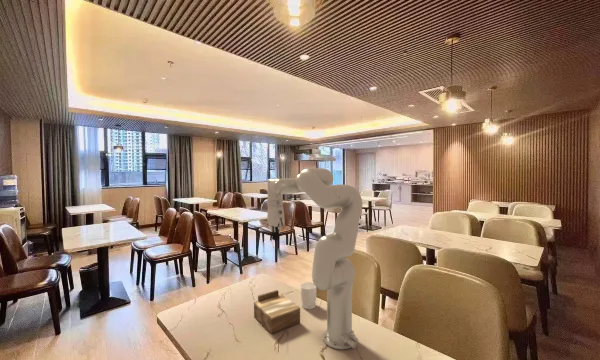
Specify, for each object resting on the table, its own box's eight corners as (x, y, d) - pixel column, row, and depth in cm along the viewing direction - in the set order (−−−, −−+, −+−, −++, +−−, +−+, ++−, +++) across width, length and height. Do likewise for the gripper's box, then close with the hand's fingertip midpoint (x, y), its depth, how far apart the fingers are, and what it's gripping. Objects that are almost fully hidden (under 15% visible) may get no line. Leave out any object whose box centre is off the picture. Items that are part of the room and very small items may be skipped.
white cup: (317, 310, 127) (316, 289, 126) (300, 310, 127) (300, 289, 127) (316, 301, 135) (316, 282, 134) (300, 301, 135) (300, 282, 134)
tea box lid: (300, 309, 115) (300, 302, 115) (271, 319, 107) (271, 311, 107) (280, 295, 129) (280, 288, 128) (253, 303, 121) (253, 296, 120)
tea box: (300, 323, 116) (300, 309, 116) (271, 334, 108) (271, 320, 107) (281, 308, 129) (280, 295, 129) (254, 317, 121) (253, 304, 121)
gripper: (289, 204, 131) (289, 241, 132) (274, 201, 143) (274, 235, 144) (276, 205, 127) (276, 244, 127) (261, 202, 139) (262, 237, 139)
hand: (275, 239), depth 135 cm, fingers closed
